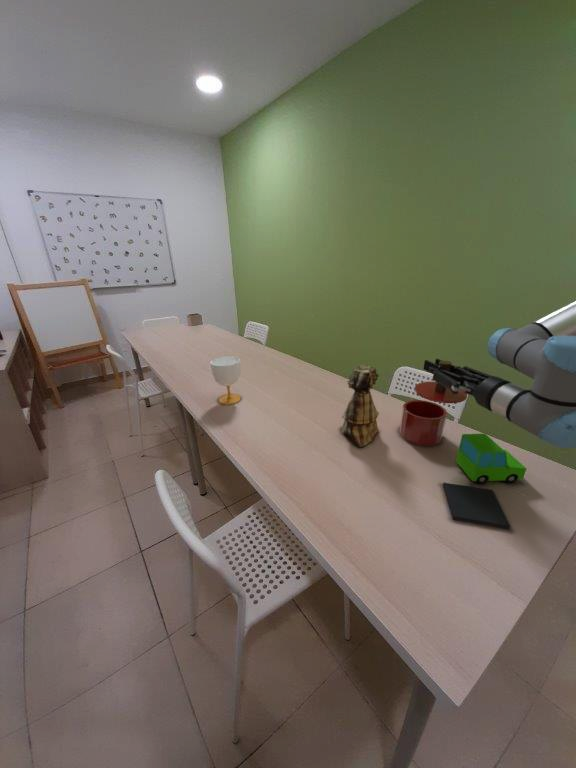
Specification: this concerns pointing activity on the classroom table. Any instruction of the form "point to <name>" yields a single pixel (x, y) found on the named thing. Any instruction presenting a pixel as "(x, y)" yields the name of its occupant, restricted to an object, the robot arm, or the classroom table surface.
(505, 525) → the plate
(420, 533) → the classroom table surface
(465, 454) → the toy car
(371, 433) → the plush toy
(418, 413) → the pot
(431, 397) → the lid
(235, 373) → the cup
